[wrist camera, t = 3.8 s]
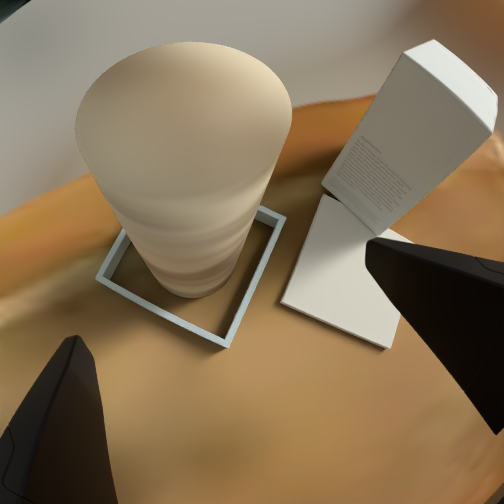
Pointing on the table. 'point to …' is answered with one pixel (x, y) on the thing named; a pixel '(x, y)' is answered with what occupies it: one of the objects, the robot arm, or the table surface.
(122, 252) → the light blue square frame
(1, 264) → the table surface
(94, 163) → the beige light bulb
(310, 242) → the mat
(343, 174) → the small box
